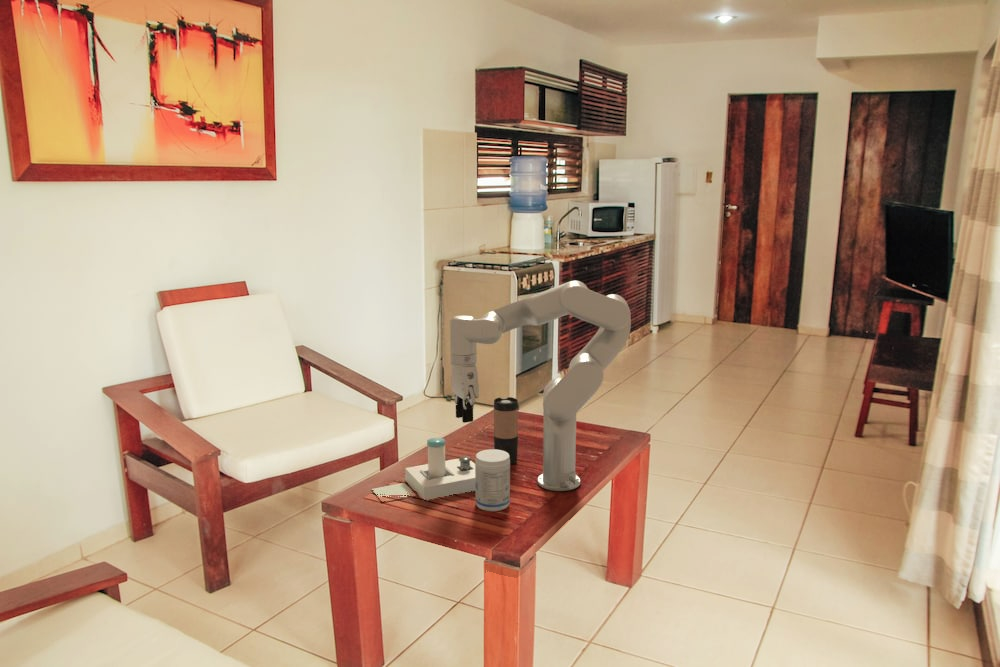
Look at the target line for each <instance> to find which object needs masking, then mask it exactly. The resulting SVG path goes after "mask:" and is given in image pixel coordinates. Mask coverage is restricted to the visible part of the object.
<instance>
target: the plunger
mask: <svg viewBox="0 0 1000 667" xmlns="http://www.w3.org/2000/svg"><path fill="white" fill-rule="evenodd" d="M459 461H460V470H461V471H467V470H470V461H472V457H470V456H467V455H463V456H460V457H459Z"/></svg>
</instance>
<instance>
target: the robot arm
mask: <svg viewBox="0 0 1000 667" xmlns="http://www.w3.org/2000/svg"><path fill="white" fill-rule="evenodd" d="M568 315H570V316H572V317H574V318H576V319H578V320H581V321H583V322H586V323H589V324H592V325H594V326H597V327H599V328H598V330H597V332H595V334H594V335H593V337H591V339H590V340H589V341H588V343H586V345H584V346H583V348H582V349H580V351H579V352H578V353H577V354H576V355H575V356H574V357H573V358H572V359H571V360H570V362H569V364H568V371H567V372H566V373H565V374H564V376H563V377H555V378H553V379H550V380H549V382H547V383H546V385H545V387H544V389H543V392H542V393H543V394H542V395H543V396H542V408H543V411H542V412H543V421H542V422H543V424H542V426H543V427H542V428H543V430H542V436H543V437H542V444H543V445H542V474H540V475H538V477H537V484H538V485H539V486H540V487H541V488H543V489H546V490H547V491H553V492H566V491H572V490H575V489H577V488H579V487H580V485H581V478H580V477H579V476H578V475H577V472H576V452H577V450H576V449H577V448H576V445H577V444H576V443H577V440H576V439H577V437H576V436H577V413H578V412H579V411H580V410H581V409H582V408H583V407H584V405H586V403H588V402H589V400H590V399H591V398H592V397H593V396H594V395H595V394H596V392H598V391H599V389H600V387H601V386H602V384H603V382H604V377H605V376H604V375H605V374H604V372H605V370H607V369H606V368H608V367H609V365H610V364H611V363H612V362H613V361H614V359H615V358H616V357H617V356H618V355H619V353H620V352H621V351H622V350H623V348H624V347H625V345H626V344H627V341H628V340H629V336H630V334H631V333H630V332H631V329H632V328H631V326H632V319H631V309H630V306H629V304H628V302H627V301H626V300H625V298H624V297H623V296H621V295H619V294H614V293H611V294H607V295H604V294H601V293H599V292H596V291H594V290H591V289H590V288H588V286H587V285H586V284H585V283H584V282H582V281H580V280H570V281H568V282H564V283H562V284H560V285H558V286H557V285H556V286H555V287H552V288H549V289H546V290H545V291H542V292H539V293H536V294H535V295H532V296H529V297H526V298H523V299H521V300H517V301H514V302H511V303H508V304H505V305H503V306H500V307H498V308H496V309H493V310H490V311H488V312H486V313H484V314H483V315H482V316H481V317H480V318H478V319H477V318H475V317H474V316H472V315H461V314H460V315H455V316H452V317H451V318H450V320H449V337H450V338H449V341H450V343H449V345H450V348H449V349H450V350H449V351H450V353H449V354H450V365H451V378H450V379H451V380H450V381H451V382H450V383H451V391H452V394H454V404H455V418H457V419H459V418H460V419H461V418H462V420H461V421H462V423H463V424H465V423H470V422H471V423H472V422H474V408H475V407H474V406H475V404H476V402H477V401H476V399H478V398H479V397H480V392H479V391H480V389H479V387H480V386H479V375H478V368H477V364H478V362H477V361H478V360H477V359H478V358H477V344H484V345H493V344H496V343H497V342H498V341H499V340H500V339H501V337H502V334H504V333H507V332H509V331H512V330H515V329H518V328H521V327H525V326H541V325H544V324H547V323H550V322H552V321H555V320H557V319H559V318H562V317H564V316H568Z"/></svg>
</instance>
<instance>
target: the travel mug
mask: <svg viewBox="0 0 1000 667" xmlns="http://www.w3.org/2000/svg"><path fill="white" fill-rule="evenodd" d="M518 404H519V401H518V399H517V398H515V397H509V396H508V397H506V398H502V397H496V398H495V399H494V400H493V448H494V449H497V450H502V451H505V452H507V453H508V454H509V456H510V465H514V464H515V462H516V463H517V461H518V448H519V445H518V443H519V412H518V411H519V405H518Z"/></svg>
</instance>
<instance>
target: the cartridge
mask: <svg viewBox="0 0 1000 667" xmlns="http://www.w3.org/2000/svg"><path fill="white" fill-rule="evenodd" d="M426 443H427V444H426V445H427V464H428V476H429V477H430V478H431V479H434V478H440V477H445V476H446V474H445V461H446V439H444V438H442V437H433V438H432V437H431V438H429V439H427V442H426Z"/></svg>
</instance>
